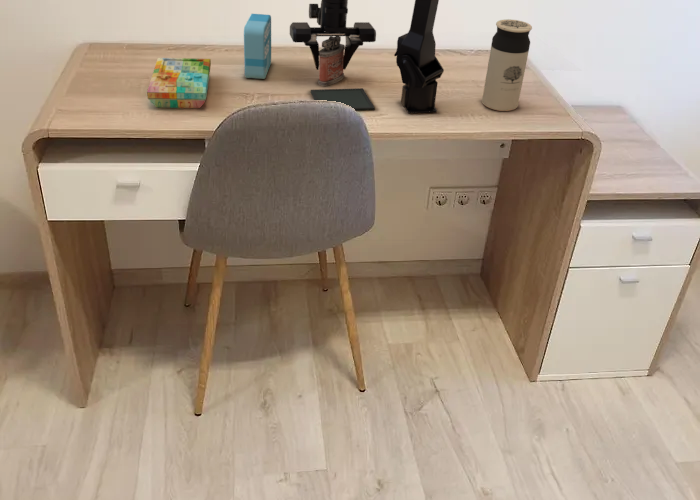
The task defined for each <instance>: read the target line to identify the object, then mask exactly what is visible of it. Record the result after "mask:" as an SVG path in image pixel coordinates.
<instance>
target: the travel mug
mask: <svg viewBox="0 0 700 500" xmlns="http://www.w3.org/2000/svg"><path fill="white" fill-rule="evenodd" d="M495 25H496V32H495V33H494V35H493V36H492V40H491V45H490V49H489V50H490V51H489V56H488V62H487V68H486V75H485V81H484V86H483V92H482V93H483V94H482V97H481V98H482V99H481V103H482V104H483V105H484V106H485V107H487V108H488V109H491V110H494V111H498V112H499V111H500V112H509V111H514V110H516V109H517V108H518V107H519V102H520V97H521V92H522V88H523V82H524V77H525V72H526V66H527V61H528V56H529V52H530V46H531V39H530V36H529V35H530V32H531V30H532V29H533V26H532V25H531V24H530V23H528V22H526V21H523V20H519V19H509V18H508V19H500V20H498V21H497V22H496V23H495Z"/></svg>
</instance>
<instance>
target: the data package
mask: <svg viewBox="0 0 700 500" xmlns="http://www.w3.org/2000/svg"><path fill="white" fill-rule="evenodd" d="M243 58H244V62H243V63H244V67H243V68H244V77H245V78H246V79H256V80H257V79H258V80H265V79H266V77H267V75H268V72H269V70H270V67H271V65H272V16H271V14H262V13H261V14H260V13H251V14H250V15H249V17H248V19H247V21H246V23H245V25H244V28H243Z"/></svg>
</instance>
